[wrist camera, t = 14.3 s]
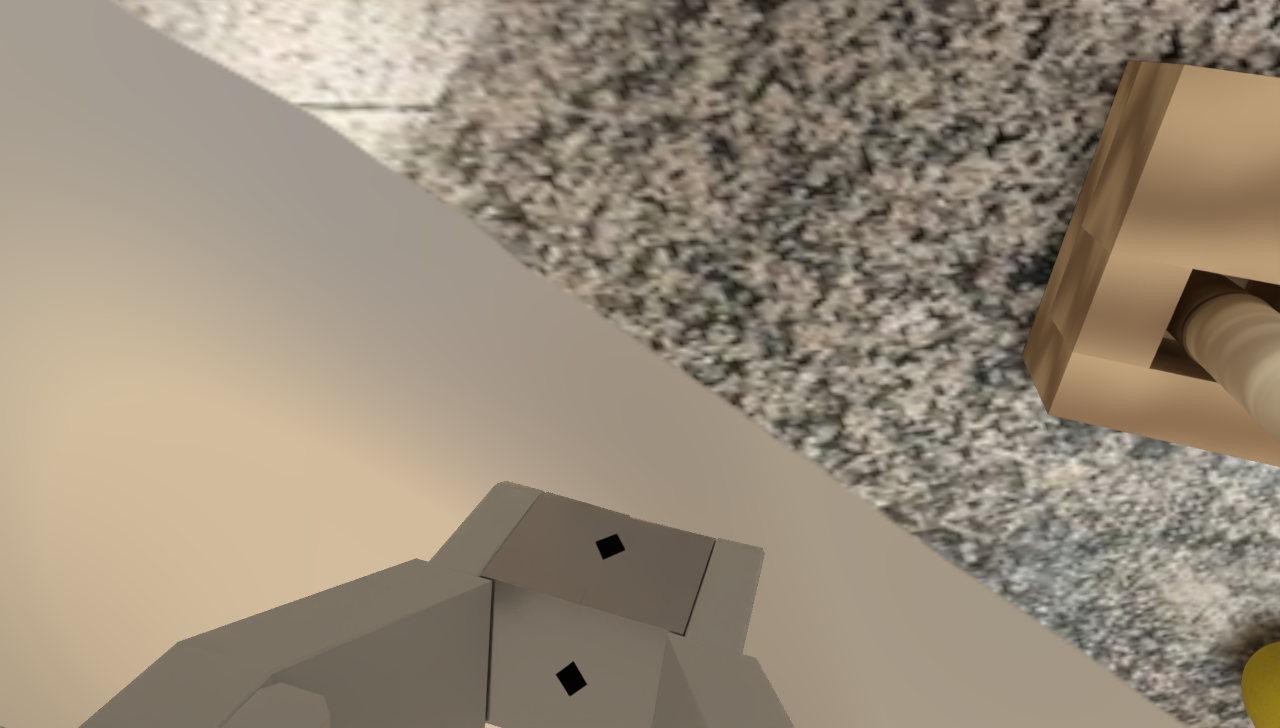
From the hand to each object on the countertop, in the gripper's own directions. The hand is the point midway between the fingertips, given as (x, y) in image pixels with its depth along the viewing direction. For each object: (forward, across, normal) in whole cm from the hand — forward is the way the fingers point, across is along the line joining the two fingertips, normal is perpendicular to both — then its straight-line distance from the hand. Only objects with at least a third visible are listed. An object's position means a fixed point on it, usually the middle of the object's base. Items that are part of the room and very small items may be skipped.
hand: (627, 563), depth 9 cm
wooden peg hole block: (+34, -18, +1) cm, 38 cm away
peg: (+32, -17, +3) cm, 36 cm away
